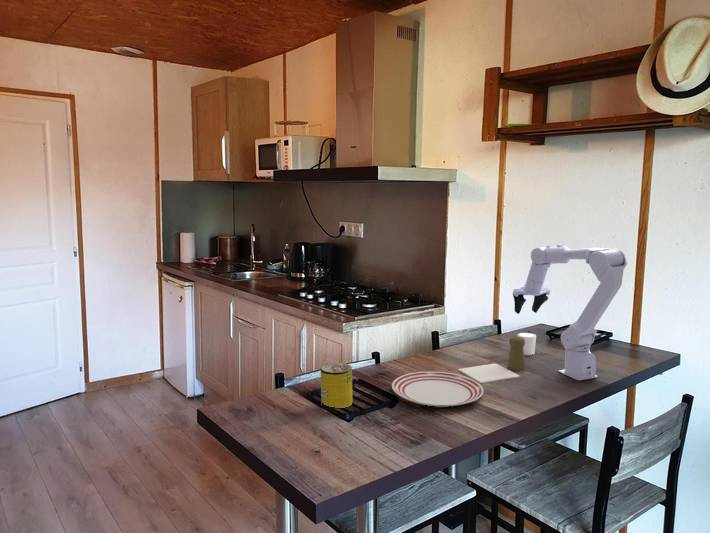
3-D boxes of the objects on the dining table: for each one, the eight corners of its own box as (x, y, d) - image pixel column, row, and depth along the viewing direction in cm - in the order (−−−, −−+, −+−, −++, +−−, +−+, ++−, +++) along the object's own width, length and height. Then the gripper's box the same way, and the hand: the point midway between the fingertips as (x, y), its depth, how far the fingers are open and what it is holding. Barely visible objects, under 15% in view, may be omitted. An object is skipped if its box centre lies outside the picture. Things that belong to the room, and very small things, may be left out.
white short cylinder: (513, 351, 209) (513, 333, 208) (528, 349, 211) (529, 331, 210) (523, 356, 202) (524, 338, 201) (539, 354, 204) (540, 336, 203)
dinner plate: (485, 383, 176) (485, 373, 176) (481, 418, 150) (481, 407, 150) (401, 377, 183) (401, 367, 183) (383, 409, 157) (382, 398, 157)
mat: (520, 377, 180) (520, 375, 180) (481, 383, 175) (481, 382, 175) (495, 364, 194) (495, 363, 193) (458, 370, 188) (458, 368, 188)
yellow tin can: (346, 399, 165) (345, 361, 163) (357, 410, 156) (356, 370, 155) (317, 404, 162) (316, 365, 160) (327, 416, 153) (326, 374, 152)
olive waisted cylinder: (523, 365, 192) (524, 334, 191) (527, 371, 186) (528, 339, 185) (506, 365, 193) (506, 334, 191) (509, 370, 187) (509, 339, 185)
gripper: (545, 273, 200) (535, 305, 206) (512, 274, 195) (502, 307, 201) (557, 282, 194) (546, 315, 200) (523, 283, 189) (513, 317, 195)
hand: (525, 311), depth 200 cm, fingers open, 7 cm apart
